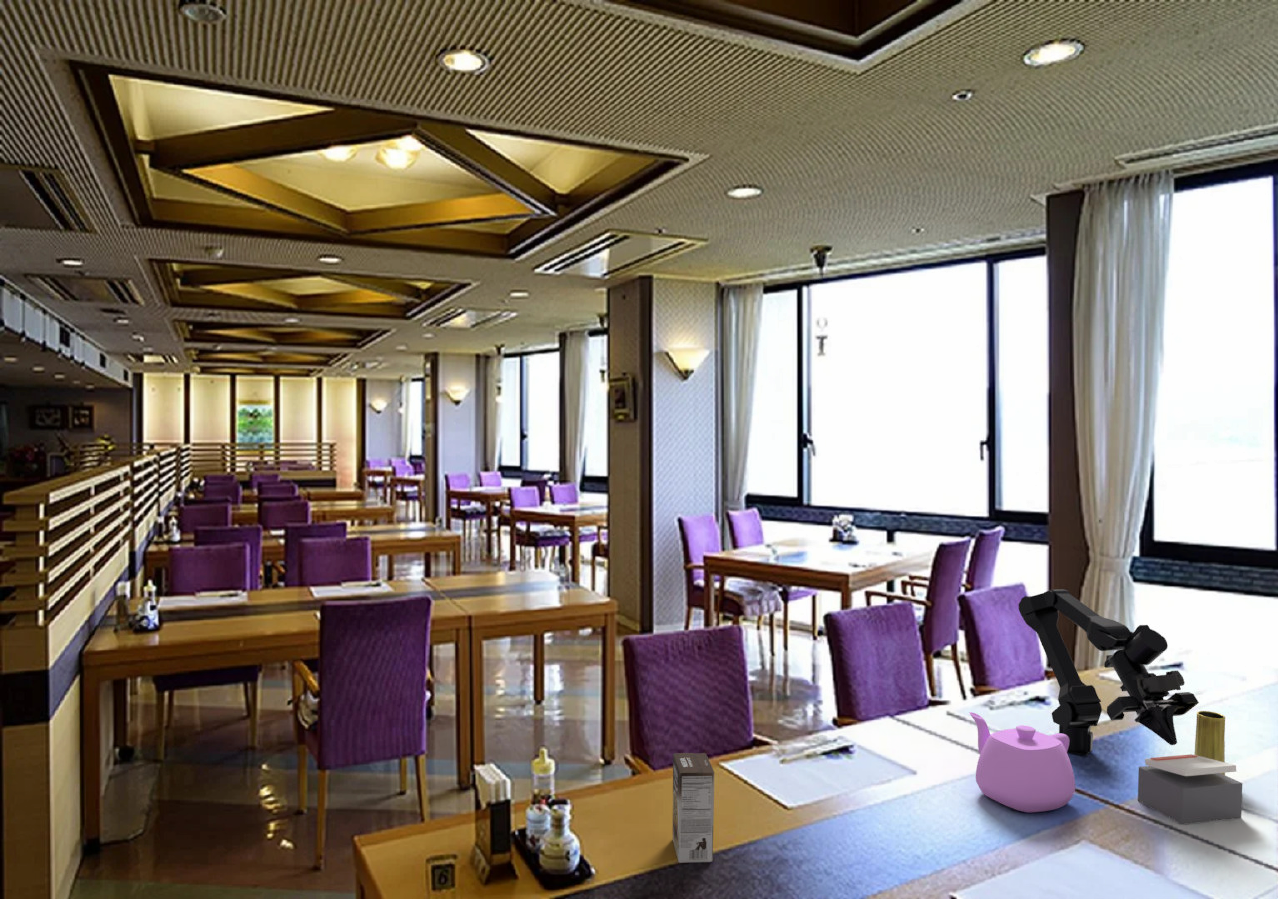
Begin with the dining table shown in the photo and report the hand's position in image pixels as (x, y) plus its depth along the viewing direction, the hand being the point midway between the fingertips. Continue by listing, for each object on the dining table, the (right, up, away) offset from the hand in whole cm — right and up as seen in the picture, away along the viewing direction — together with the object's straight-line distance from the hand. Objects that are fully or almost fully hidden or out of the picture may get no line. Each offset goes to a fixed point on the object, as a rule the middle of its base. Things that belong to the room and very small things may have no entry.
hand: (1174, 744), depth 179 cm
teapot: (-31, -12, +1) cm, 33 cm away
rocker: (+1, -3, -4) cm, 5 cm away
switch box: (+1, -12, -4) cm, 12 cm away
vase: (+15, -12, +12) cm, 23 cm away
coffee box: (-101, -12, -23) cm, 104 cm away
